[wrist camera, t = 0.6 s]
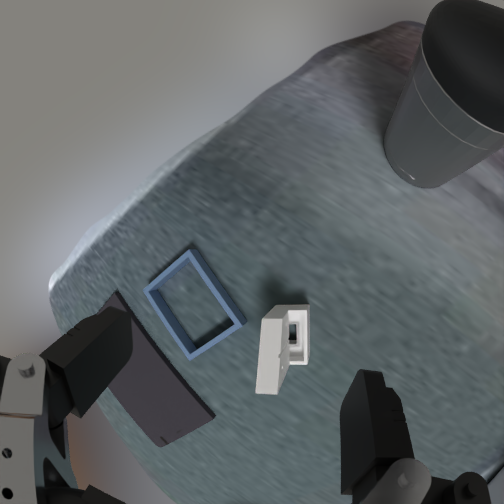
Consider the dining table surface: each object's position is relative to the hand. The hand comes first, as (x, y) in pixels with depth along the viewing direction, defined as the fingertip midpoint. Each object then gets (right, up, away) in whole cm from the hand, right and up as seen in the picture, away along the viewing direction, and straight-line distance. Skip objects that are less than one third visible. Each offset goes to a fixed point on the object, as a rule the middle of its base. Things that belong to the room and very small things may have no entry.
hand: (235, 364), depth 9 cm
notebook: (-15, -14, +29) cm, 35 cm away
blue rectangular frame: (-6, -2, +25) cm, 26 cm away
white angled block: (+5, -5, +23) cm, 24 cm away
